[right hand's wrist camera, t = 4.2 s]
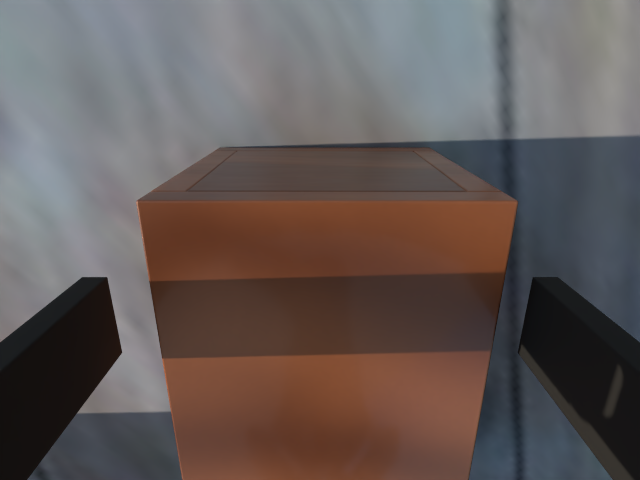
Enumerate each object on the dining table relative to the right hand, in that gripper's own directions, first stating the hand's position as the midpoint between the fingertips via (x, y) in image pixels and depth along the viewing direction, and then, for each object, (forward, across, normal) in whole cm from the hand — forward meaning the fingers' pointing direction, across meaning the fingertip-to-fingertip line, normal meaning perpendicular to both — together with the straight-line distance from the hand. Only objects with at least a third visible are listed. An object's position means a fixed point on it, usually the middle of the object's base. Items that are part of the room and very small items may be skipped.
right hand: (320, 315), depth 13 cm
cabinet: (+9, 0, -5) cm, 11 cm away
